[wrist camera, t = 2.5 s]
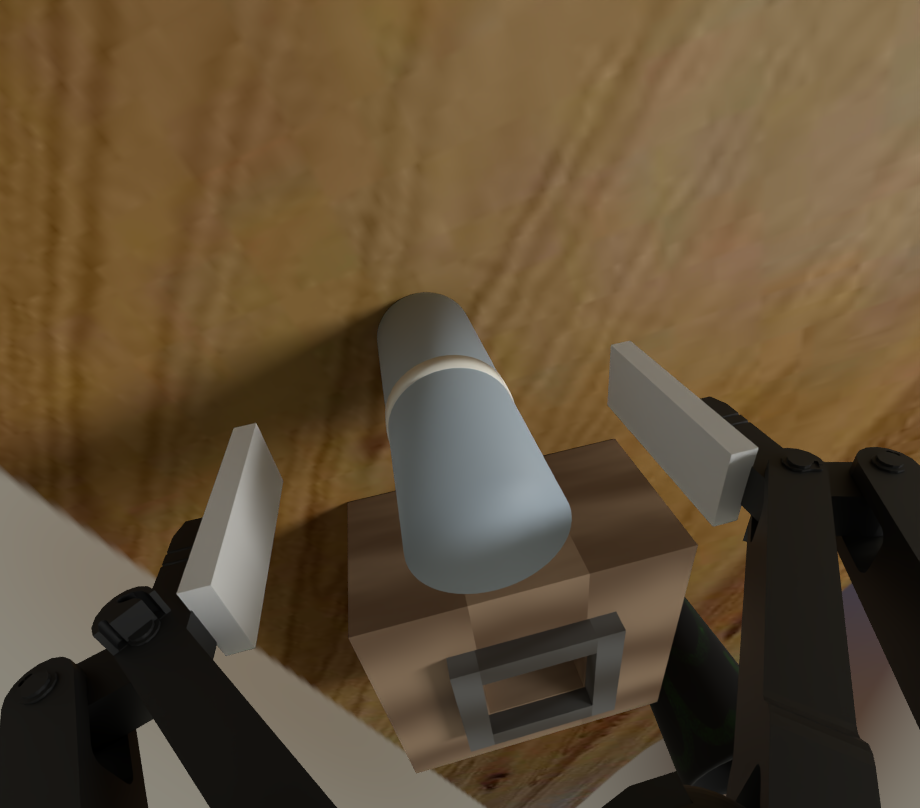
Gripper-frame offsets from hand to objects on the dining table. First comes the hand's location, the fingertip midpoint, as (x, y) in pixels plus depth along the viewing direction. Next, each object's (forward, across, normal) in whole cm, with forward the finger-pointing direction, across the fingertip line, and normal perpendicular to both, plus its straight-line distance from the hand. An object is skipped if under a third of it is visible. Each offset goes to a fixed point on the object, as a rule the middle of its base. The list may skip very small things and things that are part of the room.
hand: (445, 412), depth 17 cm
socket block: (+6, +2, -16) cm, 18 cm away
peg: (+6, 0, 0) cm, 6 cm away
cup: (+6, +14, -27) cm, 31 cm away
